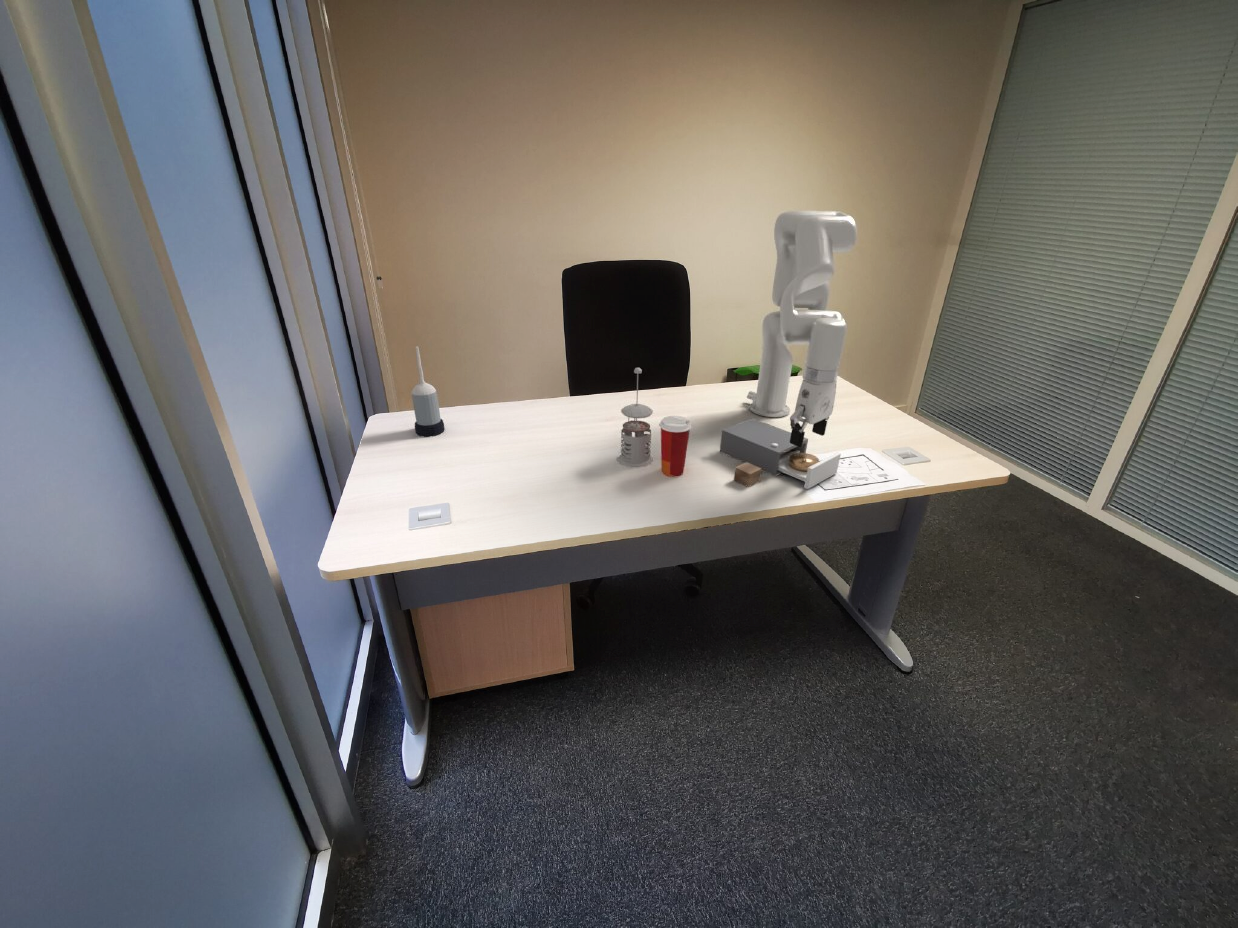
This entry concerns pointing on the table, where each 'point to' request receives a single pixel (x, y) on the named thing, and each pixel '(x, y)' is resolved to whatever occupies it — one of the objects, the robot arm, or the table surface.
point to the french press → (636, 435)
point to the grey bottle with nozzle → (426, 407)
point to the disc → (802, 461)
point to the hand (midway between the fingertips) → (807, 439)
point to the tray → (810, 469)
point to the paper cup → (674, 444)
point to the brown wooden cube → (747, 474)
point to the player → (758, 444)
